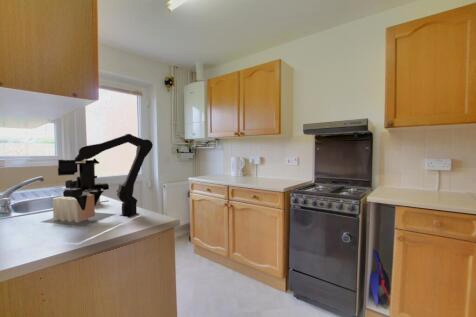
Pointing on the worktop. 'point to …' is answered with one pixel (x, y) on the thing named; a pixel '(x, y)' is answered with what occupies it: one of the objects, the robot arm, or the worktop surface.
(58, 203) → the domino
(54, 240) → the worktop surface
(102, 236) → the worktop surface
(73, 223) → the mat
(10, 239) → the worktop surface
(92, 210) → the terracotta domino
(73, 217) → the domino
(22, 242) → the worktop surface
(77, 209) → the domino
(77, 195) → the robot arm
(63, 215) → the cream flat block
